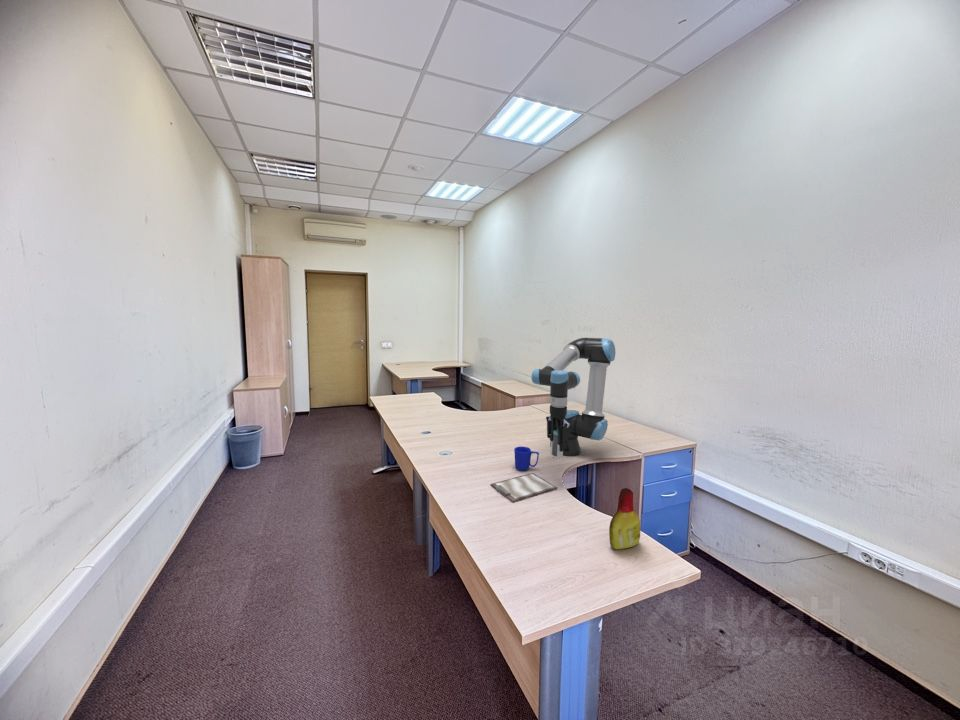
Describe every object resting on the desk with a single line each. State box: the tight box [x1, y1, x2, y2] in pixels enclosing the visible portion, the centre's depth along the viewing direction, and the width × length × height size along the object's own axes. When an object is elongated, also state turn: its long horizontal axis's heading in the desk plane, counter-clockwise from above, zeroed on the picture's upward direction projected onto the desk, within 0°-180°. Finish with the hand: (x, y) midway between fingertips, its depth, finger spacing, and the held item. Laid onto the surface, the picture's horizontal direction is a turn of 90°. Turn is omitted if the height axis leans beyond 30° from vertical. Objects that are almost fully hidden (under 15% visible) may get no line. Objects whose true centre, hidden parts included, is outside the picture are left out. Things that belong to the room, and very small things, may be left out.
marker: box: [552, 430, 561, 460], centre depth 162 cm, size 4×4×12 cm
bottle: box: [608, 487, 641, 550], centre depth 119 cm, size 12×6×20 cm, turn 112°
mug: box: [513, 446, 540, 472], centre depth 179 cm, size 8×12×10 cm
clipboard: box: [489, 472, 558, 504], centre depth 160 cm, size 24×17×2 cm
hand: (556, 455), depth 163 cm, fingers closed on marker, 3 cm apart
